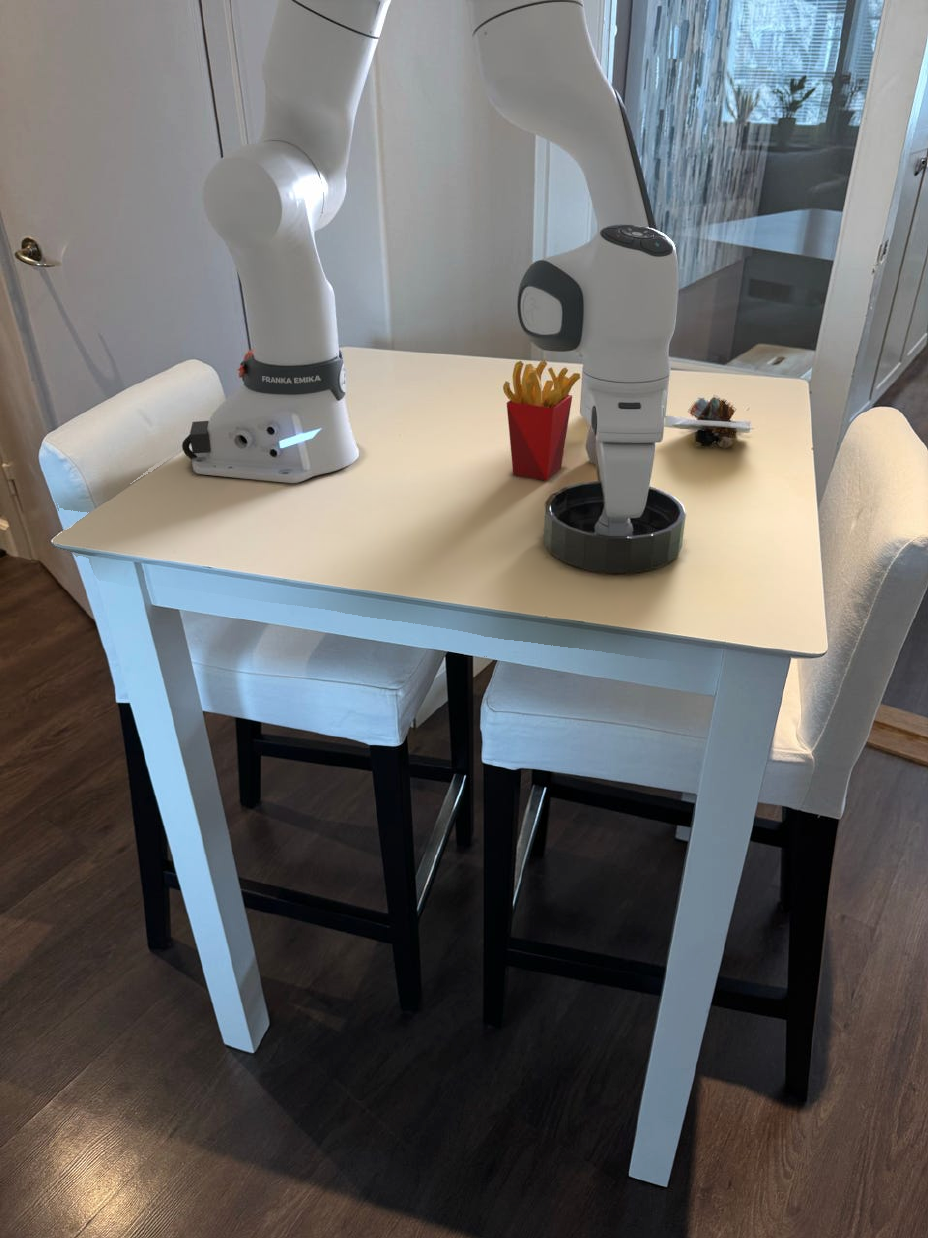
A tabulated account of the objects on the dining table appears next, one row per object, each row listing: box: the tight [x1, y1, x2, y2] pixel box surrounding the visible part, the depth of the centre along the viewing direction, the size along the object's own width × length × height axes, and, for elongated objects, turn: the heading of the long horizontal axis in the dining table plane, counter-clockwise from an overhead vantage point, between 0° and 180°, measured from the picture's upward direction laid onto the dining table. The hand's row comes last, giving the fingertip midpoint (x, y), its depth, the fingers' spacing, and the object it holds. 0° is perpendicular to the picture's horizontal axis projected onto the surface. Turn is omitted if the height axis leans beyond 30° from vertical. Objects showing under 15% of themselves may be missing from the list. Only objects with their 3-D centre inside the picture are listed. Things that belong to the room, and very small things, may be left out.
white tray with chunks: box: [664, 394, 754, 449], centre depth 128 cm, size 12×12×7 cm
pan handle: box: [595, 450, 601, 481], centre depth 112 cm, size 2×10×1 cm, turn 176°
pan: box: [543, 480, 687, 574], centre depth 102 cm, size 15×15×4 cm
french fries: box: [502, 360, 581, 482], centre depth 116 cm, size 9×8×15 cm
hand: (613, 520), depth 101 cm, fingers open, 5 cm apart
